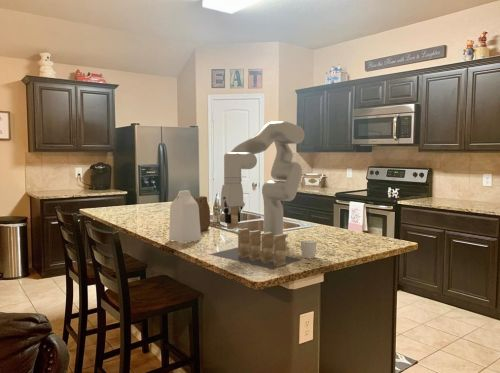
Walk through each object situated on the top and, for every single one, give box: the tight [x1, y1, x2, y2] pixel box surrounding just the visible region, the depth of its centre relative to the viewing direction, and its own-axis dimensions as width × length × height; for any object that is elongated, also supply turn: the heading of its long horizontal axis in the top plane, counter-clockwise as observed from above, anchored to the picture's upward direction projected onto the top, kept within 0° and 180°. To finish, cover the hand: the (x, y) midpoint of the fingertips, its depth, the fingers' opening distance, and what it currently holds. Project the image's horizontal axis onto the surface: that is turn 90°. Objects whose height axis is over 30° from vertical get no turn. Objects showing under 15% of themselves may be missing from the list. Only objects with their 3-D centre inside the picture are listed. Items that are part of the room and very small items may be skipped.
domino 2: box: [249, 229, 262, 261], centre depth 173 cm, size 2×5×12 cm, turn 138°
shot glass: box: [300, 240, 317, 259], centre depth 178 cm, size 7×7×7 cm
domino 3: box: [261, 232, 274, 263], centre depth 168 cm, size 2×5×12 cm, turn 138°
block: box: [193, 195, 211, 232], centre depth 243 cm, size 11×8×20 cm
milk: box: [168, 190, 202, 244], centre depth 214 cm, size 12×12×26 cm
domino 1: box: [237, 227, 250, 258], centre depth 177 cm, size 2×5×12 cm, turn 138°
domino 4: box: [273, 233, 286, 267], centre depth 164 cm, size 2×5×12 cm, turn 138°
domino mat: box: [209, 246, 303, 270], centre depth 177 cm, size 20×36×1 cm, turn 48°
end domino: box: [226, 207, 239, 230], centre depth 180 cm, size 2×5×12 cm, turn 138°
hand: (232, 222), depth 181 cm, fingers closed on end domino, 4 cm apart
